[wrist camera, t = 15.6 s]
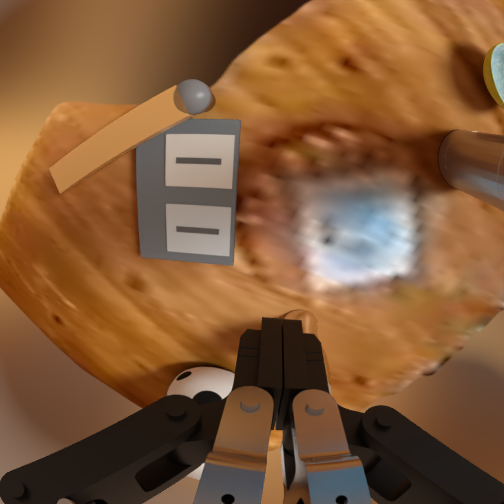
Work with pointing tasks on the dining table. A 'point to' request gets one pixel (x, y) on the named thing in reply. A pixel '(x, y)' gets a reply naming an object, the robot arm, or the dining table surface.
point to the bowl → (495, 73)
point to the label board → (189, 192)
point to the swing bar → (131, 131)
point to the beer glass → (310, 327)
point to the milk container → (202, 390)
